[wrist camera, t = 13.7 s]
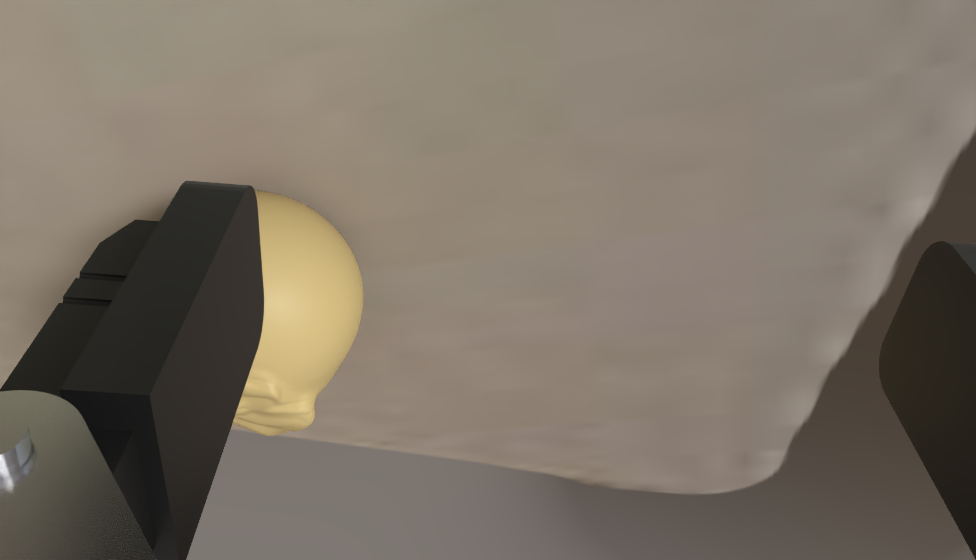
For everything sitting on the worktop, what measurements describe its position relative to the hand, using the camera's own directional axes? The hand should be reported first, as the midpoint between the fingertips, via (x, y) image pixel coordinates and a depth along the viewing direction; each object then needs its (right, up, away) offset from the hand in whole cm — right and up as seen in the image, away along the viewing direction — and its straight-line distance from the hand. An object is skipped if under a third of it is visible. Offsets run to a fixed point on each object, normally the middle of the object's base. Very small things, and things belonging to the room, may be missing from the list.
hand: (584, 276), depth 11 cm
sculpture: (-14, +1, +40) cm, 42 cm away
